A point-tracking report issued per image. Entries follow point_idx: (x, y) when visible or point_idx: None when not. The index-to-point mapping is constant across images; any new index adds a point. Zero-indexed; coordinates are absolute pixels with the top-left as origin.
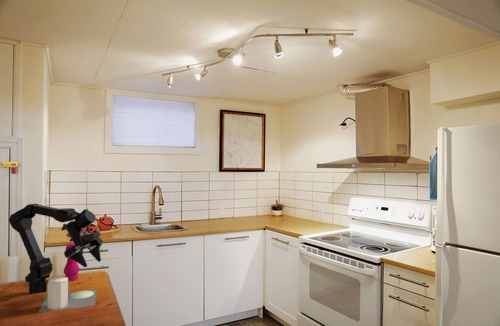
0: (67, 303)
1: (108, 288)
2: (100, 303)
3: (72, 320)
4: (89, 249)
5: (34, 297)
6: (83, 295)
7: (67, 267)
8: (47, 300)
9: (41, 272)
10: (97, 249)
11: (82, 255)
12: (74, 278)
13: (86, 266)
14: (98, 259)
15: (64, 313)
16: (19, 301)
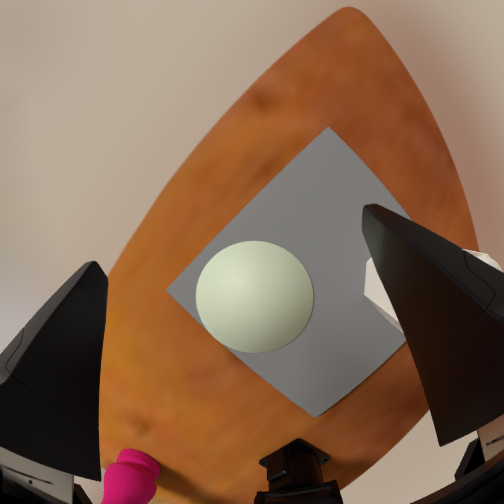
0: (367, 262)
1: (113, 272)
2: (274, 145)
3: (433, 127)
4: (80, 491)
5: (327, 440)
6: (258, 281)
7: (143, 497)
8: (363, 370)
9: (333, 502)
10: (5, 380)
11: (491, 301)
12: (136, 454)
13: (372, 208)
14: (93, 293)
15: (414, 204)
16: (369, 440)
